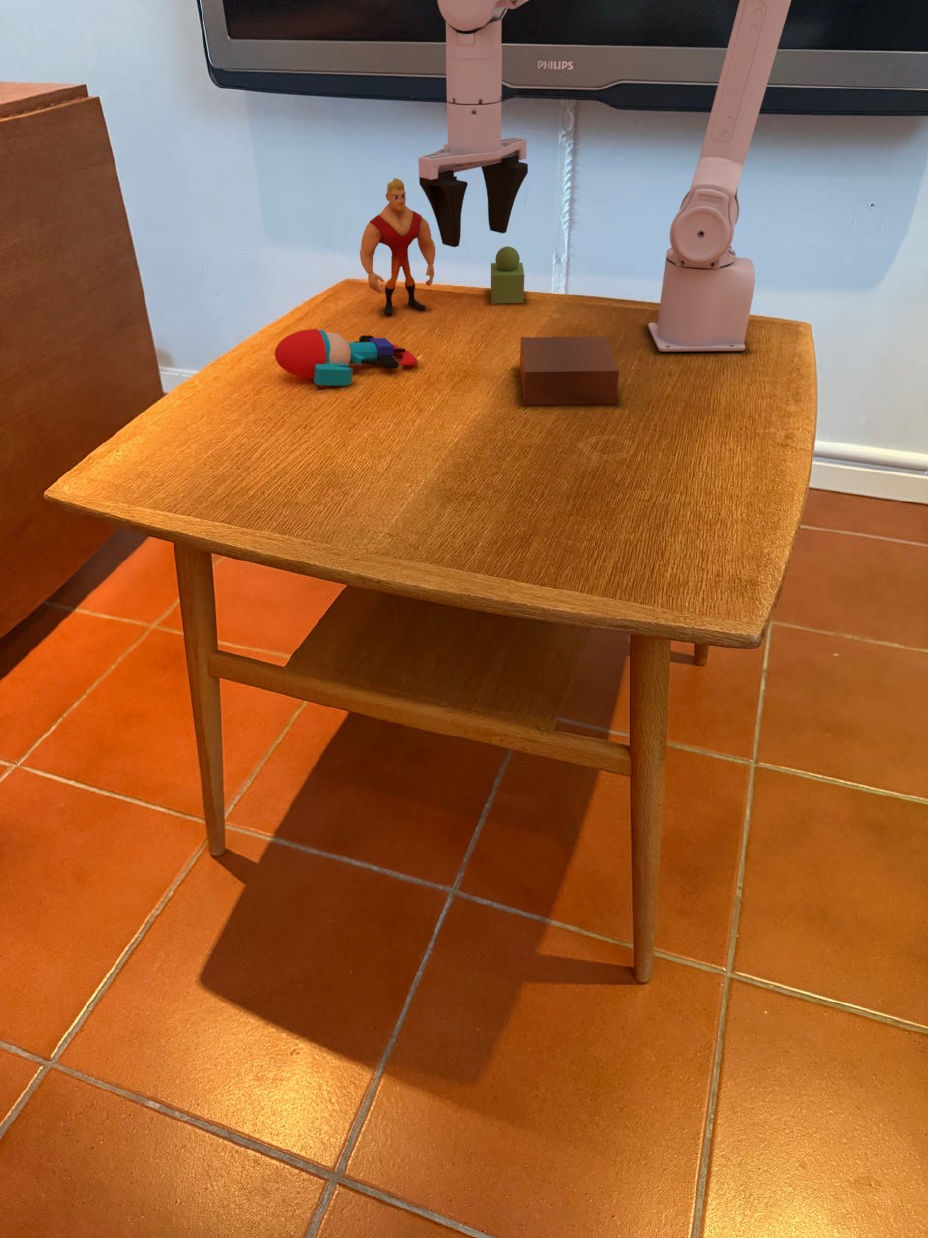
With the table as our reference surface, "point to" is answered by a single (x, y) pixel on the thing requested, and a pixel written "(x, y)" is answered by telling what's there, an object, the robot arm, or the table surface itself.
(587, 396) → the walnut block
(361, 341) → the toy figure
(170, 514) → the table surface
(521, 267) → the green toy
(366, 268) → the action figure
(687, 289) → the robot arm
